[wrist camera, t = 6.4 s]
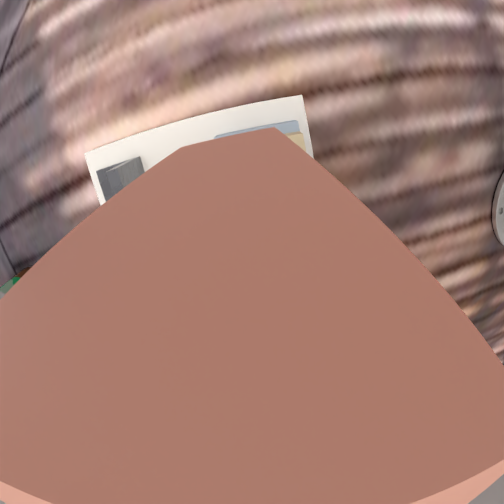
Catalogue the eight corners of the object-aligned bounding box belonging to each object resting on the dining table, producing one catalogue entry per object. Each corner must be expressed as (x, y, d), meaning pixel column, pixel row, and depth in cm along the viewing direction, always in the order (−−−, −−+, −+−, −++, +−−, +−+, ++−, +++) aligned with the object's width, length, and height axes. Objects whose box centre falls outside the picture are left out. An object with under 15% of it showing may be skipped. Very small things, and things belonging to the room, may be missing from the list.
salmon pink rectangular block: (274, 126, 12) (543, 432, 1) (307, 331, 17) (352, 567, 5) (181, 147, 13) (-90, 421, 1) (237, 343, 17) (232, 579, 6)
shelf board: (299, 95, 25) (302, 94, 23) (322, 238, 31) (326, 247, 29) (93, 149, 27) (84, 153, 25) (136, 272, 33) (130, 282, 31)
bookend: (140, 156, 25) (117, 168, 21) (171, 256, 30) (158, 284, 25) (98, 170, 26) (71, 184, 21) (131, 264, 30) (113, 291, 26)
